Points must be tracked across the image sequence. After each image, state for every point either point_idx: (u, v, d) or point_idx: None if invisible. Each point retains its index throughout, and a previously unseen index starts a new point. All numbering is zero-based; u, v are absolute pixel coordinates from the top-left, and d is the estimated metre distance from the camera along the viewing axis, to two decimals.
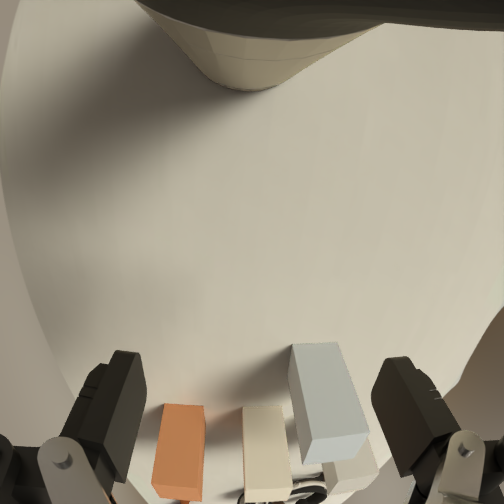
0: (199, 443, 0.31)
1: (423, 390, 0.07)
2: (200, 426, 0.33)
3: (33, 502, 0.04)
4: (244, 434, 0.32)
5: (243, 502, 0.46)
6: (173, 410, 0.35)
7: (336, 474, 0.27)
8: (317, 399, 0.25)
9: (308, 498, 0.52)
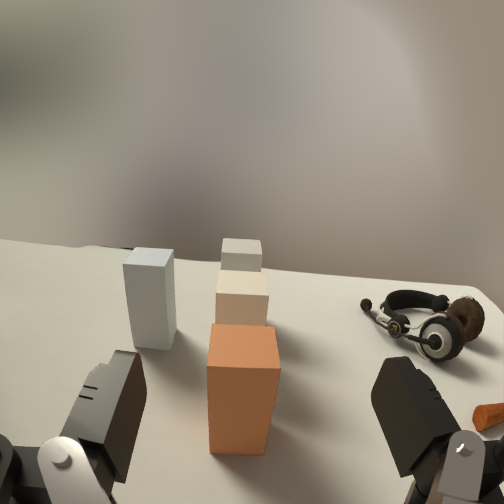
0: None
1: (423, 390, 0.07)
2: None
3: (33, 502, 0.04)
4: None
5: (443, 348, 0.35)
6: None
7: (221, 259, 0.39)
8: None
9: (429, 306, 0.50)
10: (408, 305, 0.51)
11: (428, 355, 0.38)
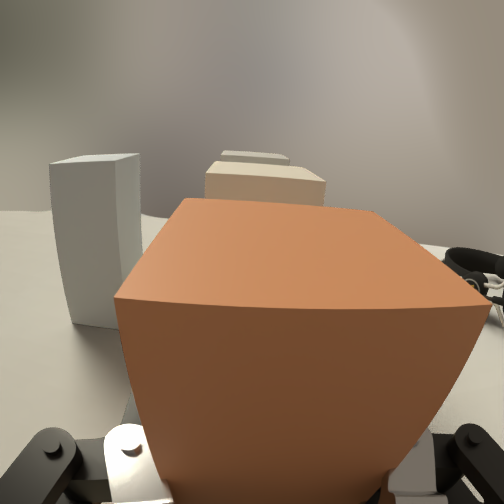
0: None
1: None
2: None
3: (90, 497, 0.05)
4: None
5: None
6: None
7: None
8: None
9: (491, 271, 0.33)
10: (466, 269, 0.35)
11: None
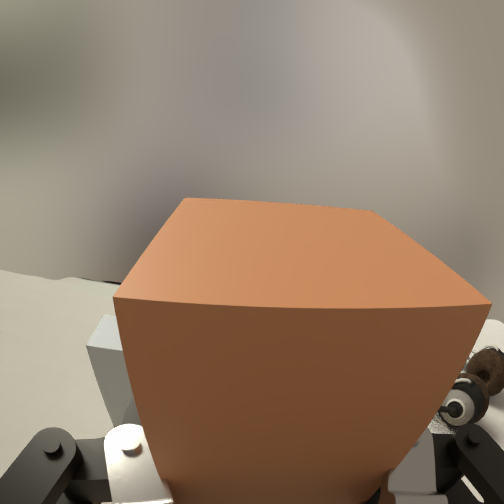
0: None
1: None
2: None
3: (90, 497, 0.05)
4: None
5: (464, 416, 0.26)
6: None
7: None
8: None
9: None
10: None
11: (445, 421, 0.28)
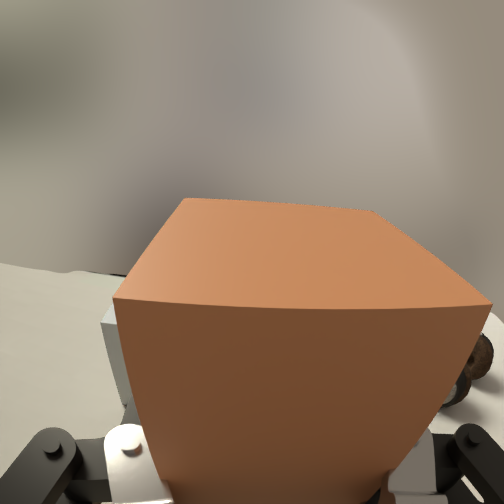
0: None
1: None
2: None
3: (90, 497, 0.05)
4: None
5: None
6: None
7: None
8: None
9: None
10: None
11: None
